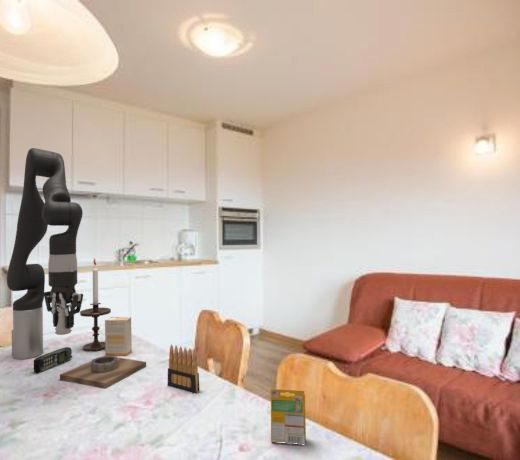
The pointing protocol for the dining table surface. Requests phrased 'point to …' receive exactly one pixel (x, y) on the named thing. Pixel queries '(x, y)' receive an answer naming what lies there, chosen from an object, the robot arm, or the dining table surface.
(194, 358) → the ammunition clip
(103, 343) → the candlestick
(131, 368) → the walnut plate
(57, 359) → the mobile phone
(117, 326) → the supplement box
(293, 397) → the crayon box
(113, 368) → the metal collar
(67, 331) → the rook chess piece
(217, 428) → the dining table surface
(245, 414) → the dining table surface
